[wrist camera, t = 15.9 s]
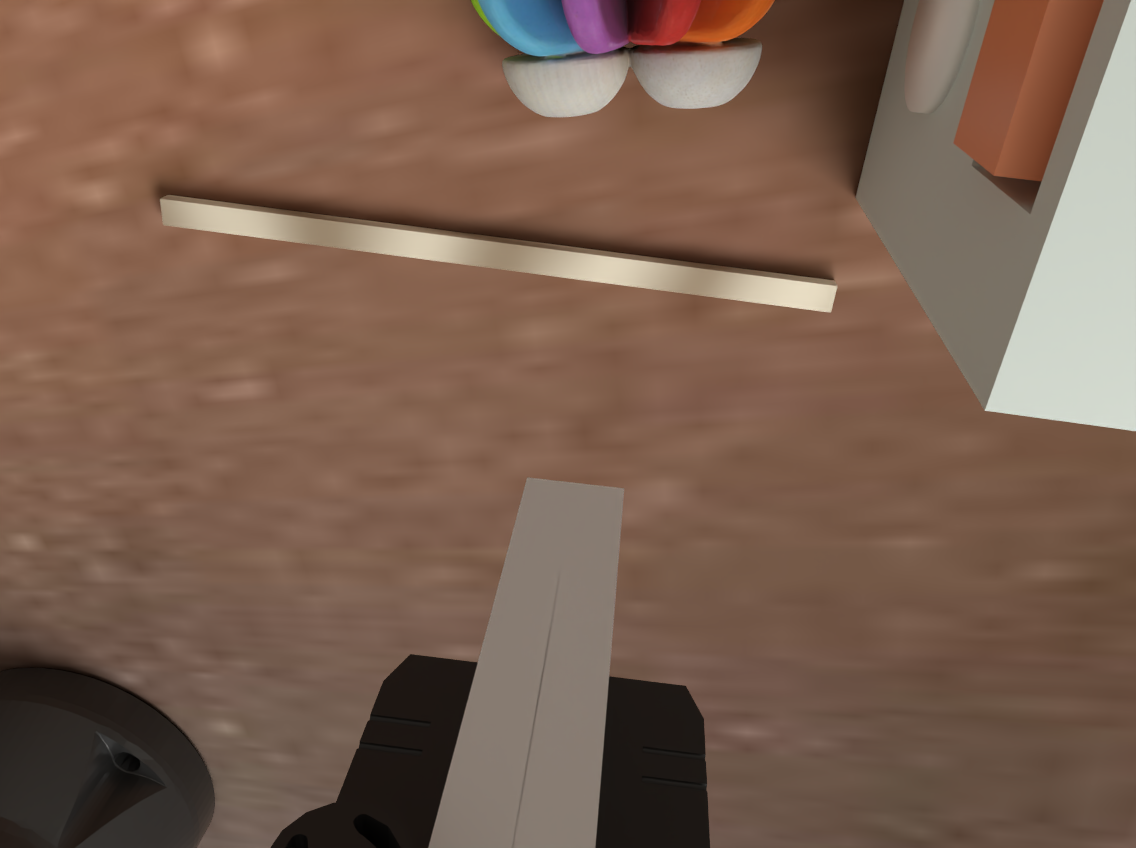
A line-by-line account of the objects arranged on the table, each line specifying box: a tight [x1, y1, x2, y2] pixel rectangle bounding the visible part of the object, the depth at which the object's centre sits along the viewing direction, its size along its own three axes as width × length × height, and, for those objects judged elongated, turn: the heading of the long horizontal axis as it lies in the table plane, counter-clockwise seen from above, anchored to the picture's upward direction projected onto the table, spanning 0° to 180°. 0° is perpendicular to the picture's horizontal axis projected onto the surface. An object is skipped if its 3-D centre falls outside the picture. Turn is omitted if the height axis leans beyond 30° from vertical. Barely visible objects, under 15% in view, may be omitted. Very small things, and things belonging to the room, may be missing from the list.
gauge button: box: [953, 0, 1104, 182], centre depth 17 cm, size 3×4×3 cm
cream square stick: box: [160, 195, 837, 312], centre depth 33 cm, size 25×1×1 cm, turn 85°
